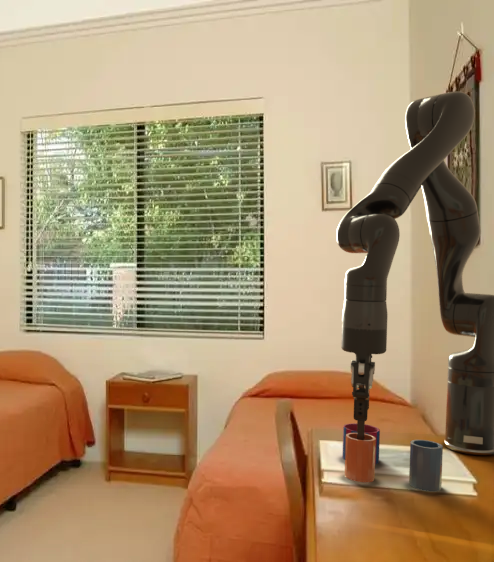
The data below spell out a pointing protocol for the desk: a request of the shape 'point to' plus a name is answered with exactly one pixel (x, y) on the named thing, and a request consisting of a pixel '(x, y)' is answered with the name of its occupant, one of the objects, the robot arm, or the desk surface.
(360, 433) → the chopstick
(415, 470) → the holder
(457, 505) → the desk surface
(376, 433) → the mug
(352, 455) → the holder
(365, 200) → the robot arm
